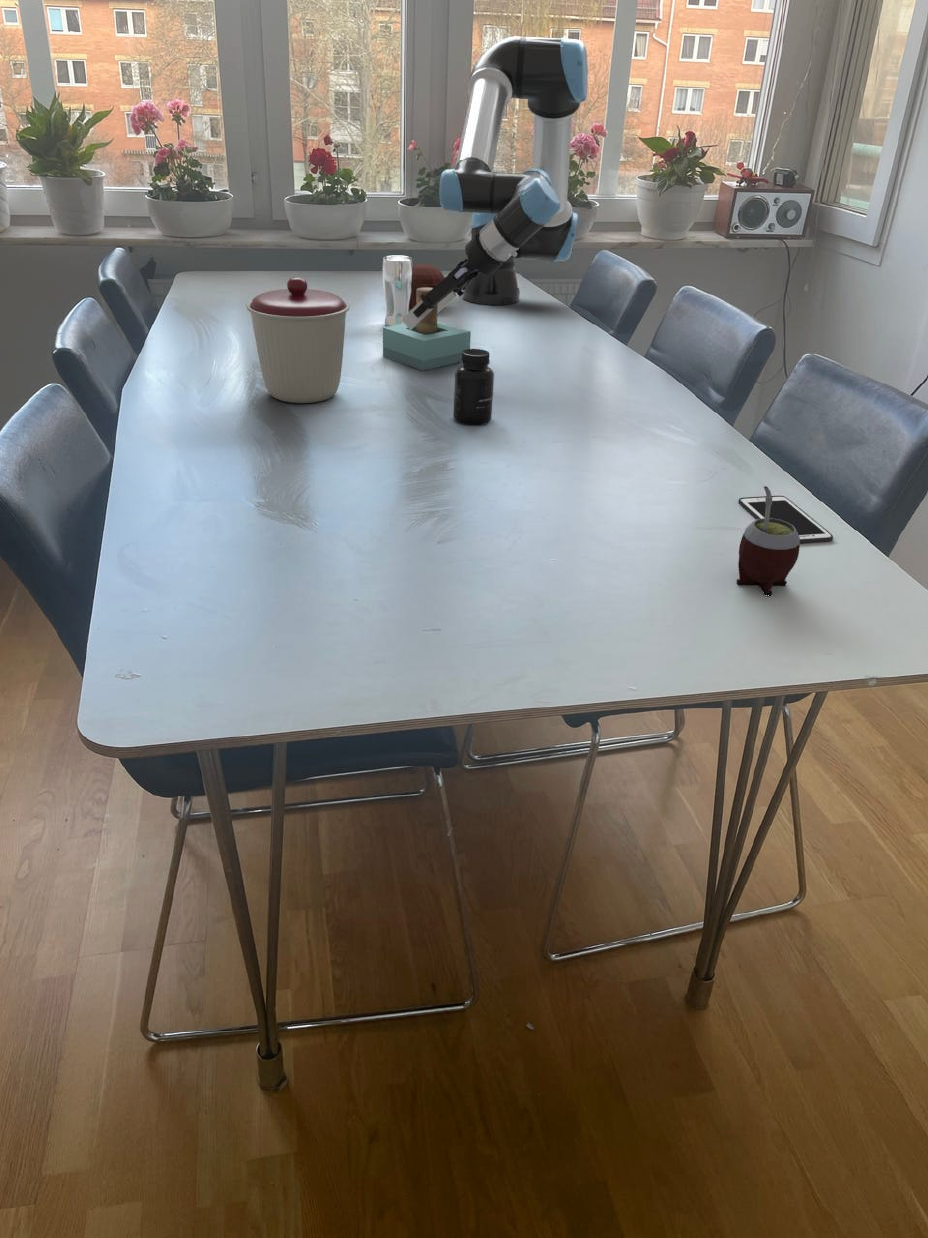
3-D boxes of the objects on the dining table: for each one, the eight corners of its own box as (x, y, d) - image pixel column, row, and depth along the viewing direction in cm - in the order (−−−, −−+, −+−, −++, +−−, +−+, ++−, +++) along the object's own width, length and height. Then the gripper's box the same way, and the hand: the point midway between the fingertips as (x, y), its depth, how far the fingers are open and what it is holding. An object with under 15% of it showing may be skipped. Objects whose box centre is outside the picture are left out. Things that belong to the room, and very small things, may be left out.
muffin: (394, 303, 242) (394, 262, 237) (434, 300, 246) (435, 260, 241) (412, 314, 233) (412, 271, 228) (453, 310, 237) (454, 269, 232)
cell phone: (782, 500, 143) (783, 494, 142) (834, 543, 131) (836, 537, 130) (735, 503, 141) (736, 497, 141) (783, 547, 129) (785, 540, 129)
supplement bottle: (487, 427, 164) (491, 359, 158) (449, 423, 165) (451, 355, 159) (494, 415, 170) (498, 348, 164) (457, 411, 171) (459, 345, 165)
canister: (333, 415, 167) (329, 292, 156) (237, 405, 170) (226, 283, 159) (363, 385, 182) (361, 271, 171) (275, 376, 185) (267, 263, 174)
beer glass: (411, 329, 220) (411, 261, 212) (381, 327, 220) (380, 260, 212) (413, 321, 226) (413, 255, 218) (384, 320, 226) (383, 254, 218)
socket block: (428, 346, 208) (429, 318, 205) (469, 359, 200) (470, 331, 197) (382, 355, 200) (382, 327, 197) (423, 370, 192) (423, 340, 189)
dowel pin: (427, 344, 201) (428, 286, 195) (440, 349, 199) (442, 290, 193) (411, 348, 199) (411, 289, 193) (425, 352, 196) (426, 293, 190)
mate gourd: (779, 571, 122) (805, 462, 114) (800, 602, 115) (829, 488, 108) (722, 570, 122) (744, 460, 114) (739, 601, 115) (764, 486, 107)
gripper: (482, 274, 175) (407, 345, 187) (522, 253, 195) (451, 318, 207) (456, 241, 174) (382, 315, 185) (499, 223, 194) (429, 290, 206)
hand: (419, 317), depth 196 cm, fingers open, 13 cm apart
